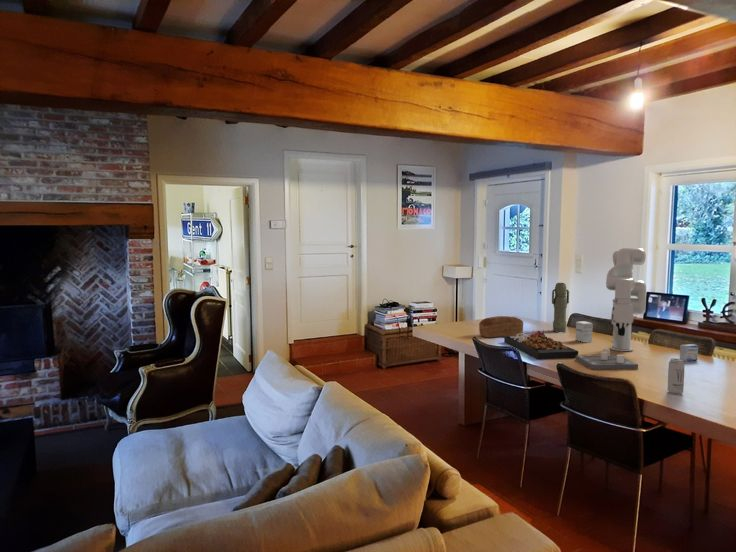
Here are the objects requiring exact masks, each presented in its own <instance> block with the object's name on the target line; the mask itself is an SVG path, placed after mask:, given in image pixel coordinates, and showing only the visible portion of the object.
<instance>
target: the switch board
mask: <svg viewBox="0 0 736 552" xmlns="http://www.w3.org/2000/svg"><path fill="white" fill-rule="evenodd" d="M617 355H618V354H610V356H609V357H608V360H601V354H596V355H595V354H594V355H589V354H588V355H585V354H584V355H578V356H576V358H575V361H576V362H578V363H579V364H582V365H584V366H585V367H587V368H588V369H591V370H595V371H597V370H599V371H601V370H638V369H639V363H636V362H634V361H632V360H629V359H627V358H625V357H624V363H617Z"/></svg>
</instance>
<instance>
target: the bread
mask: <svg viewBox="0 0 736 552" xmlns="http://www.w3.org/2000/svg"><path fill="white" fill-rule="evenodd" d="M478 324H479V325H478V326H479V327H478V330H479V335H480V336H482V337H484V338H499V337H501V338H502V337H503V338H504V337H506V336H516V334H518V333H524V321H523V320H522V319H521V318H519V317H516V316H505V315H504V316H503V315H500V316H499V315H497V316H496V315H495V316H491V317H490V316H489V317H487V318H484V319H482V320H481V321H480V322H479V323H478Z"/></svg>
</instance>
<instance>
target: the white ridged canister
mask: <svg viewBox="0 0 736 552" xmlns="http://www.w3.org/2000/svg"><path fill="white" fill-rule="evenodd" d="M593 324H594V323H592V322H590V321H583V320H582V321H576V322H575V341H576V340H578V341H577V342H580V341H581V342H580V343H582V342H586V343H592V342H593ZM591 341H592V342H591Z"/></svg>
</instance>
